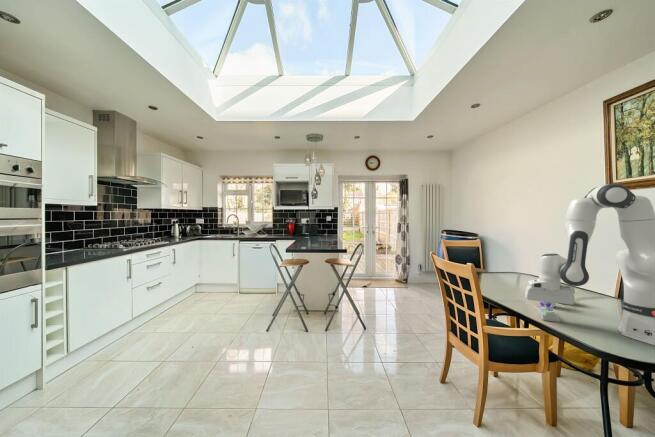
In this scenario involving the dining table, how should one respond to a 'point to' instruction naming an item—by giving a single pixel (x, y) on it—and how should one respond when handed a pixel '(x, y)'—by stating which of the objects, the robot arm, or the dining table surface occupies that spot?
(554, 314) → the key sage
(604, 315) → the dining table surface
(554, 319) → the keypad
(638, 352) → the dining table surface
